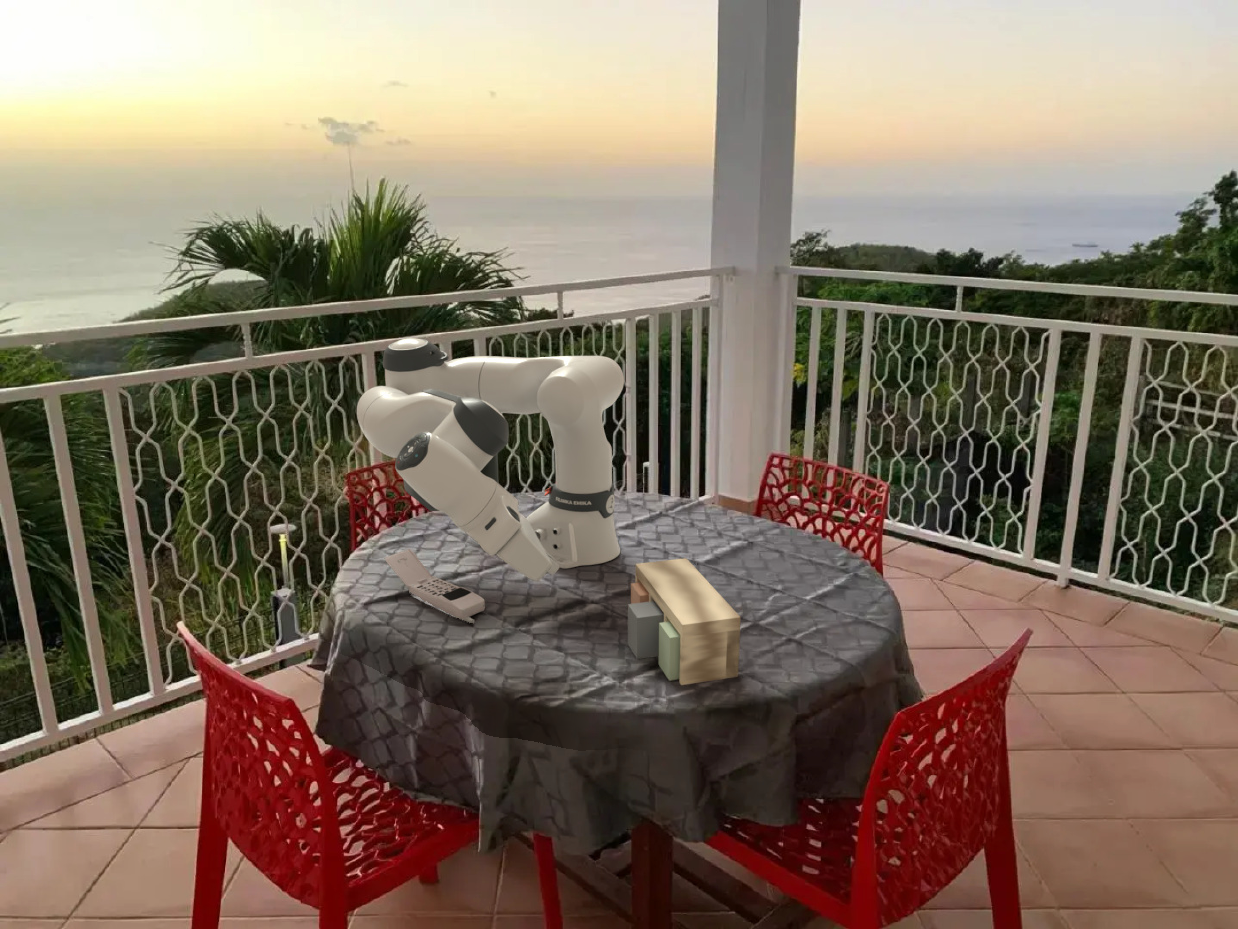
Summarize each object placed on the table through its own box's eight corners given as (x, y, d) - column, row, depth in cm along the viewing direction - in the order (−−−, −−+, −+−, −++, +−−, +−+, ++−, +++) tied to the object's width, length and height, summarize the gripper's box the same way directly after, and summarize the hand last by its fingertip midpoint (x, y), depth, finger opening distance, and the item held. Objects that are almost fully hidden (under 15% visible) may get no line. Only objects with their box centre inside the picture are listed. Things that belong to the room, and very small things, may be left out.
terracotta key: (639, 635, 148) (639, 595, 146) (630, 621, 152) (630, 583, 150) (680, 629, 150) (680, 590, 148) (670, 616, 154) (670, 578, 152)
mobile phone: (409, 547, 170) (493, 584, 154) (411, 576, 172) (495, 616, 155) (381, 557, 166) (465, 596, 150) (384, 587, 168) (467, 628, 151)
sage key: (669, 680, 134) (669, 637, 132) (658, 664, 139) (659, 622, 137) (713, 674, 136) (714, 631, 134) (701, 658, 140) (702, 617, 138)
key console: (681, 686, 133) (682, 624, 130) (635, 618, 154) (635, 563, 151) (738, 678, 135) (740, 617, 132) (685, 611, 157) (686, 558, 154)
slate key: (637, 659, 140) (637, 618, 138) (627, 644, 145) (627, 604, 143) (679, 653, 142) (680, 612, 140) (669, 638, 147) (670, 599, 145)
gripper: (467, 507, 147) (528, 557, 152) (485, 555, 128) (554, 610, 133) (494, 479, 147) (554, 530, 152) (516, 522, 128) (583, 578, 133)
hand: (554, 568), depth 143 cm, fingers closed
